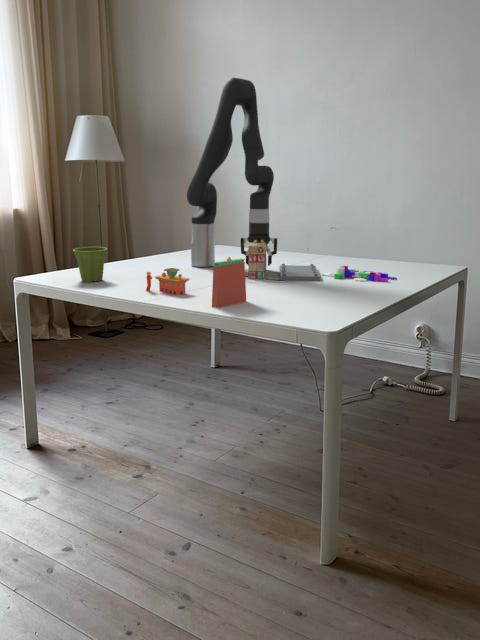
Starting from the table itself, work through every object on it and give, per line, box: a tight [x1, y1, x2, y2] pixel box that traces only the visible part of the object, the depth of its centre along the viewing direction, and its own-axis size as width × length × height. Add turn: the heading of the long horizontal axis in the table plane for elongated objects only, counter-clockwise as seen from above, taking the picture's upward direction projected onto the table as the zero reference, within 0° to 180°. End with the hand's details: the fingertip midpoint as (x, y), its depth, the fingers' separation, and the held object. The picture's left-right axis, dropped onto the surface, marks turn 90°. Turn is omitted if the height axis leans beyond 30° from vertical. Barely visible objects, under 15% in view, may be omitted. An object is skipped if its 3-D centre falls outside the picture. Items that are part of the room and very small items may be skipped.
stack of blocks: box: [247, 242, 267, 280], centre depth 236 cm, size 21×6×12 cm, turn 177°
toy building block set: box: [145, 256, 247, 309], centre depth 195 cm, size 12×35×14 cm, turn 46°
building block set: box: [321, 265, 398, 283], centre depth 232 cm, size 25×20×4 cm
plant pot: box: [72, 246, 108, 283], centre depth 222 cm, size 12×12×11 cm
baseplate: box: [279, 263, 321, 282], centre depth 236 cm, size 14×26×2 cm, turn 177°
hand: (258, 265), depth 237 cm, fingers open, 7 cm apart
